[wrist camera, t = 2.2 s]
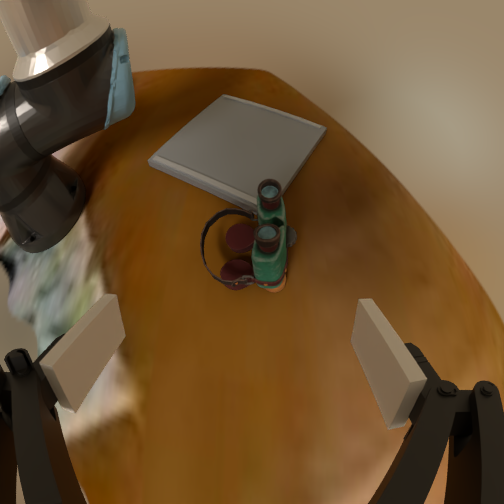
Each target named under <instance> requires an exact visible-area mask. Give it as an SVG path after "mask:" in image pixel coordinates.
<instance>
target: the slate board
mask: <svg viewBox="0 0 504 504" xmlns="http://www.w3.org/2000/svg"><path fill="white" fill-rule="evenodd" d="M326 129H327V128H326V127H324V126H321V125H319V124H316V123H313V122H311V121H308V120H305V119H303V118H300V117H297V116H294V115H291V114H289V113H286V112H283V111H280V110H277V109H274V108H271V107H267V106H264V105H261V104H258V103H254V102H251V101H247V100H244V99H240V98H237V97H233V96H229V95H225V94H223V95H222V96H221V97H219V98H218V99H217V100H215V101H214V102H213V103H212V104H210V105H209V106H208V107H207V108H205V109H204V110H203V111H202V112H201V113H199V114H198V115H197V116H196V117H195V118H193V119H192V120H191V121H190V122H189V123H188V124H186V125H185V126H184V127H183V128H182V129H181V130H180V131H178V132H177V133H176V134H175V135H174V136H173V137H172V138H171V139H170V140H168V141H167V142H166V143H165V144H164V145H163V146H162V147H161V148H160V149H159V150H158V151H157V152H156V153H155V154H154V155H153V156H151V157H150V158H149V159H148V163H149V165H150V166H151V167H154V168H156V169H158V170H160V171H163V172H165V173H167V174H169V175H172V176H174V177H176V178H178V179H181V180H183V181H185V182H187V183H189V184H192V185H194V186H196V187H198V188H200V189H203V190H205V191H207V192H209V193H211V194H213V195H216V196H218V197H220V198H222V199H224V200H226V201H228V202H230V203H233V204H235V205H237V206H239V207H241V208H243V209H245V210H250V209H254V210H257V195H258V191H257V189H258V185H259V184H260V182H262V181H263V180H265V179H275V180H277V181H278V182H279V183H280V184H281V187H282V195H283V194H284V192H285V191H286V190H287V188H288V187H289V185H290V184H291V182H292V181H293V179H294V178H295V177H296V175H297V174H298V172H299V171H300V169H301V168H302V167H303V165H304V164H305V162H306V161H307V159H308V158H309V156H310V155H311V154H312V152H313V151H314V149H315V148H316V146H317V145H318V144H319V142H320V141H321V139H322V138H323V136H324V135H325V134H326ZM282 195H281V196H282ZM253 213H254V214H256V215H257V213H256V212H253Z"/></svg>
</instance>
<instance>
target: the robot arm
mask: <svg viewBox="0 0 504 504" xmlns="http://www.w3.org/2000/svg"><path fill="white" fill-rule="evenodd" d="M0 19H1V22H2V24H3V26H4V28H5V31H6V33H7V35H8V37H9V39H10V41H11V43H12V45H13V47H14V49H15V51H16V53H17V55H18V58H17V61H16V64H15V67H14V71H13V78H14V80H15V81H14V82H12V83H11V82H10V81H11V80H10V78H8V77H7V76H6V75H4V76H1V77H0V215H1V217H2V219H3V221H4V223H5V225H6V227H7V229H8V231H9V233H10V235H11V237H12V239H13V240H14V242H15V243H16V244H17V245H18V246H20V247H21V248H22V249H23V250H25V251H26V252H30V253H38V252H42V251H44V250H47V249H49V248H50V247H52V246H53V245H55V244H56V243H57V242H59V241H60V240H61V239H62V238H63V237H64V236H65V235H66V234H67V233H68V232H69V230H70V229H71V228H72V227H73V225H74V224H75V222H76V221H77V219H78V217H79V215H80V213H81V211H82V208H83V205H84V202H85V195H86V191H85V186H84V183H83V181H82V180H81V178H80V177H79V175H78V174H77V173H76V172H75V171H74V170H73V169H72V168H70V167H69V166H67V165H66V164H64V163H63V162H61V161H60V160H58V159H57V158H56V157H54V156H53V155H52V153H54V152H56V151H58V150H60V149H62V148H64V147H66V146H68V145H70V144H72V143H74V142H76V141H78V140H80V139H82V138H84V137H86V136H89V135H91V134H93V133H95V132H97V131H100V130H102V129H104V130H105V129H107V128H108V127H109V126H110V125H112V124H114V123H116V122H119V121H121V120H123V119H125V118H127V117H128V116H130V115H131V113H132V112H133V110H134V108H135V94H134V86H133V79H132V72H131V65H130V61H129V52H128V42H127V36H126V31H125V29H123V28H119V29H118V28H115V29H113V30H111V27H110V23H109V20H108V19H107V18H106V17H104V16H100V15H97V14H93V13H92V12H91V11H90V7H89V4H88V1H87V0H0ZM124 338H125V331H124V327H123V323H122V319H121V314H120V310H119V305H118V300H117V295H114V294H105V295H104V296H102V297H101V298H100V299H99V300H98V301H97V302H96V303H95V304H94V305H93V306H92V307H91V308H90V309H89V310H88V311H87V312H86V313H85V314H84V315H83V316H82V317H81V318H80V320H79V321H78V322H77V323H76V324H75V325H74V326H73V327H72V328H71V329H70V330H69V331H68V332H67V333H66V334H63V335H61V336H59V337H58V338H56V339H55V340H54V341H53V342H52V343H51V345H49V346H48V347H47V349H46V350H45V351H44V352H43V353H42V354H41V355H40V356H39V357H38V358H37V359H36V361H35V362H34V363H32V360H31V358H30V356H29V353H28V351H27V350H25V349H22V348H20V349H15V350H12V351H11V352H9V353H8V354H7V355H6V356H5V359H4V360H5V362H6V364H7V367H8V368H9V371H10V372H4V371H3V369H2V367H1V365H0V504H16V476H17V465H18V471H19V476H20V482H21V486H22V491H23V495H24V499H25V503H26V504H87V503H86V501H85V498H84V496H83V493H82V491H81V488H80V486H79V483H78V481H77V478H76V475H75V472H74V469H73V466H72V463H71V460H70V457H69V454H68V451H67V447H66V444H65V440H64V437H63V433H62V429H61V425H60V421H59V417H58V412H57V409H56V407H55V406H54V405H55V404H56V402H57V401H58V402H59V404H60V405H61V407H62V409H63V410H66V411H69V412H72V413H76V412H77V410H78V409H79V407H80V405H81V404H82V402H83V400H84V399H85V397H86V396H87V394H88V392H89V391H90V389H91V388H92V386H93V385H94V383H95V381H96V380H97V378H98V377H99V375H100V374H101V372H102V371H103V369H104V367H105V366H106V364H107V363H108V361H109V360H110V358H111V357H112V355H113V354H114V352H115V351H116V349H117V348H118V346H119V345H120V343H121V342H122V340H123V339H124ZM351 344H352V346H353V348H354V350H355V353H356V355H357V357H358V359H359V362H360V364H361V366H362V368H363V371H364V373H365V375H366V378H367V380H368V382H369V385H370V387H371V389H372V392H373V394H374V396H375V399H376V401H377V404H378V406H379V409H380V411H381V413H382V416H383V418H384V421H385V423H386V426H387V428H388V430H389V429H394V428H398V427H403V426H404V425H405V423H406V421H407V420H408V418H410V420H411V422H412V425H411V426H410V428H409V430H408V432H407V433H406V435H405V437H404V438H403V439H404V441H403V443H402V445H401V447H400V449H399V451H398V453H397V455H396V457H395V459H394V461H393V463H392V465H391V466H390V468H389V470H388V472H387V474H386V475H385V477H384V479H383V481H382V482H381V484H380V486H379V487H378V489H377V490H376V492H375V494H374V495H373V497H372V498H371V500H370V501H369V503H368V504H424V502H425V500H426V498H427V495H428V493H429V491H430V488H431V486H432V484H433V481H434V479H435V476H436V474H437V471H438V468H439V466H440V463H441V460H442V457H443V454H444V451H445V448H446V445H447V442H448V438H449V456H448V472H447V483H446V492H445V500H444V504H504V412H503V407H502V402H501V398H500V394H499V390H498V388H497V387H496V386H495V385H494V384H493V383H491V382H489V381H479V382H477V383H476V385H475V386H474V388H473V390H459V389H458V388H457V386H456V385H455V384H453V383H452V382H449V381H446V380H441V379H440V377H439V376H438V375H437V373H436V372H435V370H434V369H433V367H432V366H431V365H430V363H429V362H428V360H427V359H426V357H424V355H423V353H422V352H421V351H420V349H419V348H418V347H416V346H415V345H413V344H412V343H405V344H404V343H403V342H402V340H401V339H400V337H399V336H398V335H397V333H396V332H395V330H394V329H393V327H392V326H391V325H390V323H389V322H388V320H387V319H386V318H385V316H384V315H383V313H382V312H381V311H380V309H379V308H378V307H377V305H376V304H375V302H374V301H373V300H372V299H358V305H357V311H356V317H355V322H354V327H353V332H352V337H351Z"/></svg>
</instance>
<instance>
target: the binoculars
mask: <svg viewBox="0 0 504 504" xmlns="http://www.w3.org/2000/svg"><path fill="white" fill-rule="evenodd" d="M257 191H258V195H257V210H254V209H250V210H245V209H242V210H241V209H236V208H226V209H224V210H221V211H219V212H217V213H216V214H215V215H214V216H213V217H212V218H211V219H209V220H208V221H207V222H206V224H205V227H204V229H203V231H202V233H201V242H200V247H201V255H202V259H203V263H204V265H205V267H206V268H207V270H208V271H209V272H210V274H211V275H212V276H213V278H214V279H216V280H218V281H219V282H221V283H223V284H224V285H225V286H226V287H227V288H229V289H232V290H240V289H243V288H245V287H247V286H249V285H250V284H253V283H255V282H256V283H257V285H258V286H259V287H262V288H265V289H266V290H268V291H270V292H278V291H281V290H282V289H283V288H284V286H285V284H286V275H285V272H286V271H287V269H286V268H287V265H288V247H291V246H292V245H293V244H295V241H296V240H297V235H296V231H295V230H294V228H291V227H290V226H288V223H287V222H286V212H285V206H284V202H283V198H282V196H281V195H282V187H281V184H280V183H279V182H278V181H277V180H275V179H265V180H263V181H262V182H260V184H259V185H258V189H257ZM253 212H256V213H257V218H258V219H253V218H254V214H253ZM227 214H238V215H242V216H246V217H248V218H250V219H251V220H252V221H258V224H259V226H257V227H256V228H255V230H254V229H253V228H251V227H250V226H248V225H246V224H236V225H234V226H232V227H231V228H229V230H228V231H227V233H226V243H227V244H228V246H229V247H230V248H231V250H233V251H234V252H236V253H244V252H247V251H249V250H251V249H252V248H253V249H252V264H253V268H252V266H251V265H250V264H249V263H247V262H246V261H244V260H239V259H235V260H231V261H229V262H227V263H226V264H225V265H224V266H223V267H222V269H221V273H220V275H221V278H222V279H221V278H219V277H217V276H215V275H214V274H212V272H211V271H210V270H209V268H208V267H207V265H206V261H205V258H204V240H205V236H206V234H207V232H208V229H209V227H210V226H211V225H213V224H214V223H215V222H216V221H217V220H218V219H219V218H221V217H223V216H225V215H227ZM253 270H254V271H253Z"/></svg>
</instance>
